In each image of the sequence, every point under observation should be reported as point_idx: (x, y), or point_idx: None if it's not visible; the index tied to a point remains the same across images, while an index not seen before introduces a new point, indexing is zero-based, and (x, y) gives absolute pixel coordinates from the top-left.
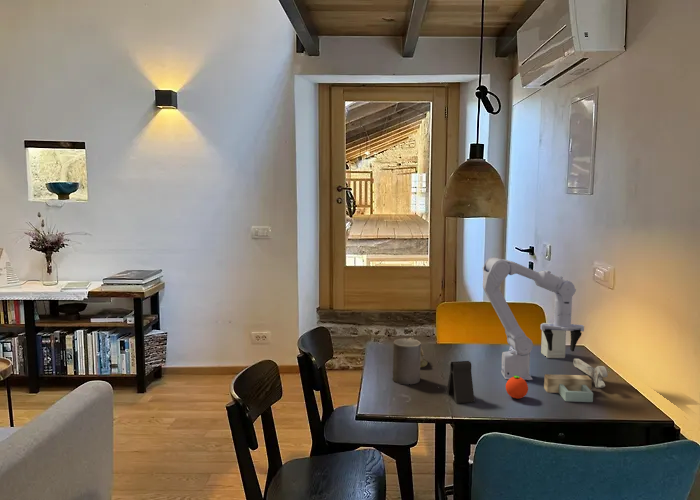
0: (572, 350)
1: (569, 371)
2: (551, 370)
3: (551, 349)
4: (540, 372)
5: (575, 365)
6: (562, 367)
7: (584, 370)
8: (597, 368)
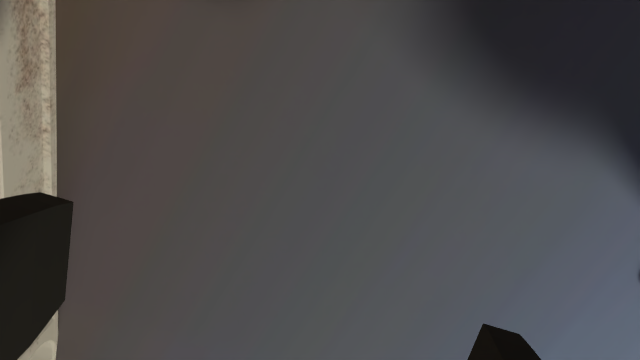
0: (57, 203)
1: (169, 237)
2: (334, 300)
3: (501, 338)
4: (485, 276)
5: (50, 337)
6: (184, 343)
7: (39, 123)
8: None
